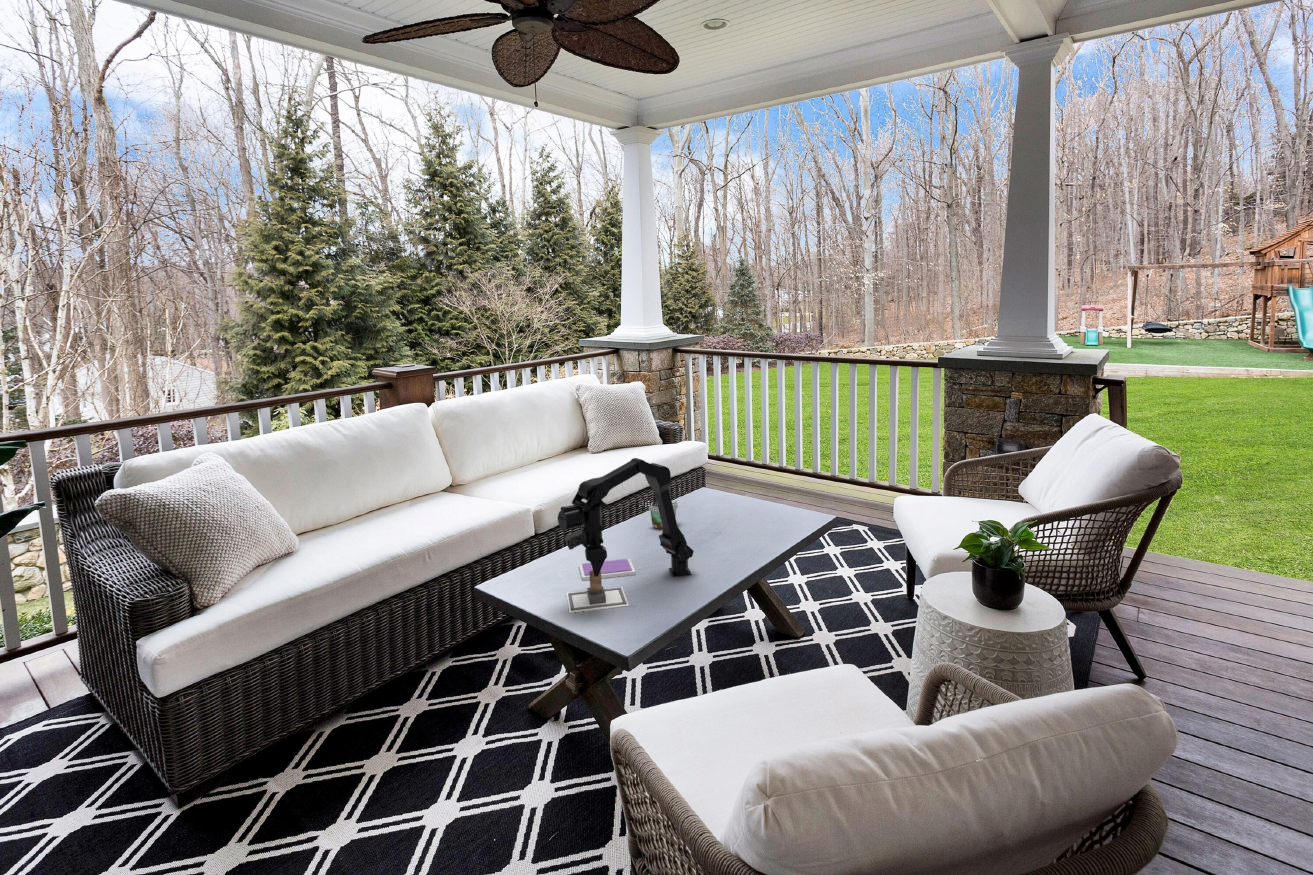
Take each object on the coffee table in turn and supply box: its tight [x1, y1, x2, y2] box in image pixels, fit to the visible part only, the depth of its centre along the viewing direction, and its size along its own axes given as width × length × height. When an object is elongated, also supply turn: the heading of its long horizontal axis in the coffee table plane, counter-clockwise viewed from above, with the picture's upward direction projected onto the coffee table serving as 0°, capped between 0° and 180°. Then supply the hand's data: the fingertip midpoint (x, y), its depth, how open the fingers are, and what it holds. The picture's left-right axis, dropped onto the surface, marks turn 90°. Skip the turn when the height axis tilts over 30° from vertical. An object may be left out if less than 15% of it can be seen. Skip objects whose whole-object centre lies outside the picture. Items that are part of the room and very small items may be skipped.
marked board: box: [566, 586, 630, 614], centre depth 215 cm, size 14×18×1 cm
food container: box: [648, 500, 679, 531], centre depth 278 cm, size 12×6×10 cm, turn 112°
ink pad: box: [578, 558, 636, 582], centre depth 238 cm, size 12×18×2 cm, turn 101°
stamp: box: [586, 570, 606, 605], centre depth 215 cm, size 7×5×9 cm
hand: (594, 570), depth 213 cm, fingers open, 9 cm apart
